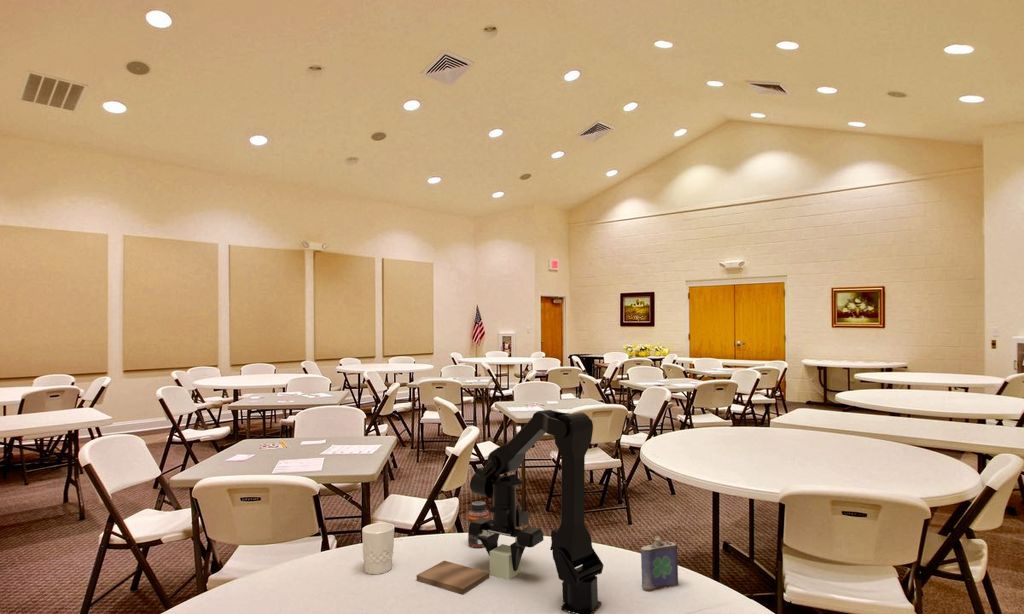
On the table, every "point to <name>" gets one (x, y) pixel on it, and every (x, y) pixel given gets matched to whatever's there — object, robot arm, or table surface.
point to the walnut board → (453, 577)
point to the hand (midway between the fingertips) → (505, 568)
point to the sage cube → (502, 563)
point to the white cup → (378, 547)
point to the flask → (659, 565)
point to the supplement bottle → (474, 514)
